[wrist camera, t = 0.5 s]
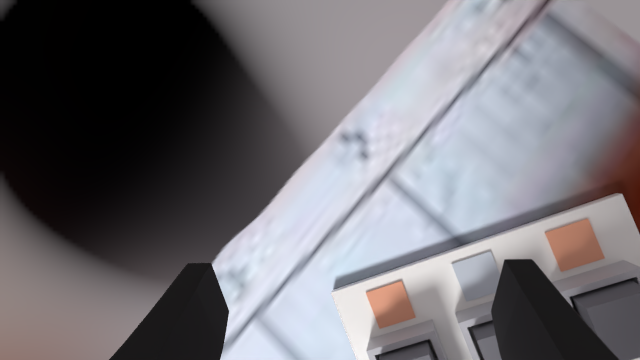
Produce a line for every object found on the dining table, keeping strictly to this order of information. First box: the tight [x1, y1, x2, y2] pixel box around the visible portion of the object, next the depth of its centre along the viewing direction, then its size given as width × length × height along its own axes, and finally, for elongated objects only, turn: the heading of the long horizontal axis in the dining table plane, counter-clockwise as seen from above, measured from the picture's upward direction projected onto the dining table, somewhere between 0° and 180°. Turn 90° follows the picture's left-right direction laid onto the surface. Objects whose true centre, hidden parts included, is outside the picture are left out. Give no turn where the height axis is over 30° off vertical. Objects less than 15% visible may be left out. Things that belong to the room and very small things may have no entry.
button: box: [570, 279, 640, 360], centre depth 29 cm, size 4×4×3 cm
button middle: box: [471, 320, 502, 360], centre depth 31 cm, size 4×4×3 cm
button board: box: [331, 193, 640, 360], centre depth 33 cm, size 13×24×4 cm, turn 112°
